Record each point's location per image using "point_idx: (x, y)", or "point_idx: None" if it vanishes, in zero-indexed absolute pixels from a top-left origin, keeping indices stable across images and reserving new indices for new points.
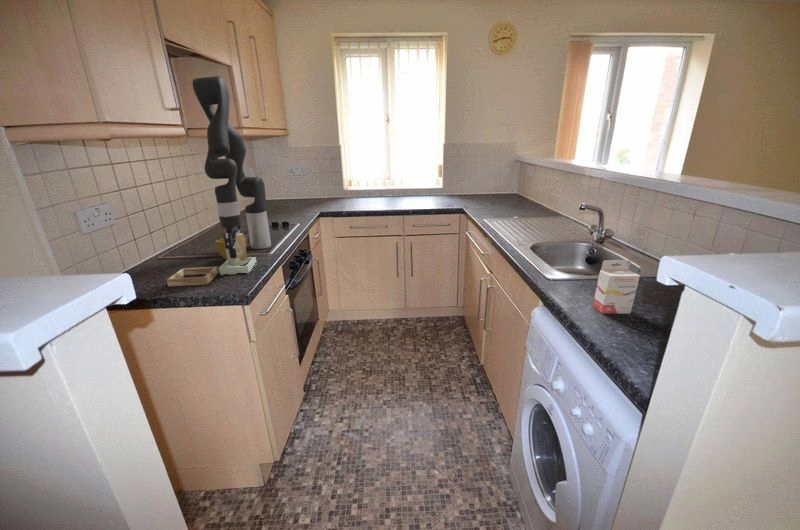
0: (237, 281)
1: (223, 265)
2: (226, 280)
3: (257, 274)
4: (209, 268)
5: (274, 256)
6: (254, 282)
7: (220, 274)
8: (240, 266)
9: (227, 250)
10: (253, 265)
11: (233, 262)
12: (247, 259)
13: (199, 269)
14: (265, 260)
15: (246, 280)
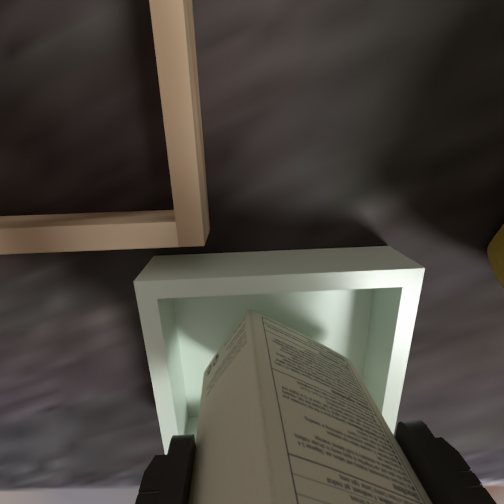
0: (31, 403)
1: (207, 295)
2: (42, 337)
3: None
4: (170, 170)
5: (489, 456)
6: (26, 481)
7: (154, 259)
8: (163, 430)
9: (235, 482)
10: None
11: (205, 393)
12: (376, 400)
13: (158, 54)
14: None
15: (53, 440)
